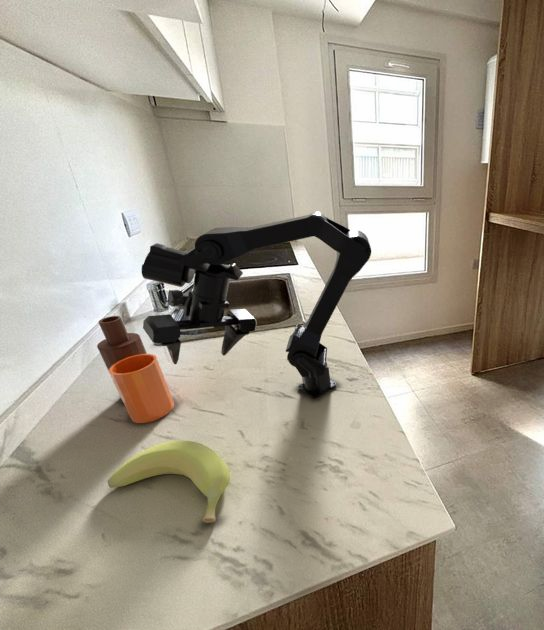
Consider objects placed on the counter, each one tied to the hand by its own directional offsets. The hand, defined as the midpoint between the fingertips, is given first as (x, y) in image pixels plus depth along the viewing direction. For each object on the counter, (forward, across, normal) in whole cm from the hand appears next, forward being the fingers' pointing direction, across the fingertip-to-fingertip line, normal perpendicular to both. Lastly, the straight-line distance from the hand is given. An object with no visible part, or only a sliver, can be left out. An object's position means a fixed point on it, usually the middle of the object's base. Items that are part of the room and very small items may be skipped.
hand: (200, 358), depth 70 cm
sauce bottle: (+16, +6, -11) cm, 20 cm away
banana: (+9, +11, +22) cm, 26 cm away
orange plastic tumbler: (+14, +6, -3) cm, 16 cm away
